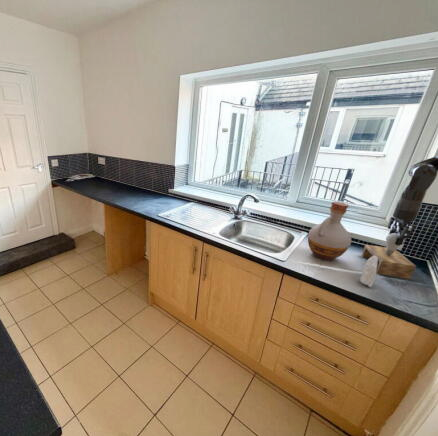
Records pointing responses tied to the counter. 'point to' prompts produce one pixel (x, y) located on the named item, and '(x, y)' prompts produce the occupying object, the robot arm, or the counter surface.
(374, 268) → the pale stone slab
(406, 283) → the counter surface
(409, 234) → the robot arm
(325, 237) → the jug
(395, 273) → the wooden wedge block
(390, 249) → the lightbulb
